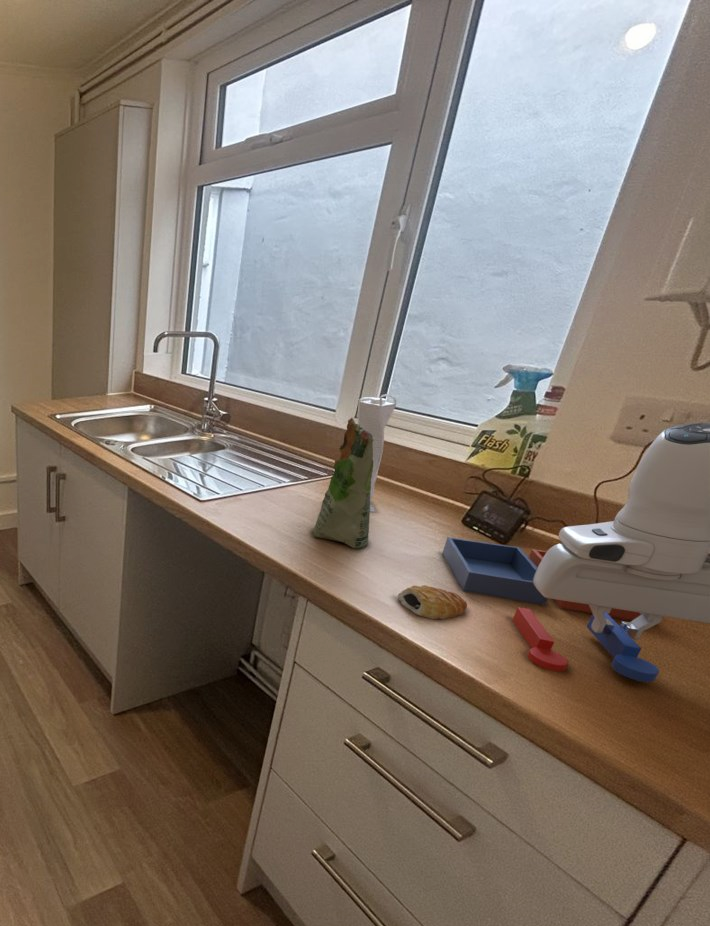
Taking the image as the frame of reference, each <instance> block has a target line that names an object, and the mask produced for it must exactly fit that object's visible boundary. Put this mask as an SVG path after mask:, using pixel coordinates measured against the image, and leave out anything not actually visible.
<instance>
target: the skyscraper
mask: <svg viewBox="0 0 710 926" xmlns="http://www.w3.org/2000/svg"><path fill="white" fill-rule="evenodd" d="M384 397H390V398H392V399H393V402H387V399H386V398H384ZM396 406H397V400H396V398H395V396H394V395H393V394H390V393H384V394H381V395H380V396H379V397H374V396H364V397H360V398H359V399H358V401H357V424H358V425H359V424H360V428H363V430H366V431H368V432H369V433H370V434H371V435H372V436H373V437H372V438H373V440H374V441H373V472H372V478H371V492H370V493H371V494H370V513H376V509H375V508H374V506H373V504H372V501H373V500H372V499H373V496H374V494H375V485H376V482H377V478H378V475H379V473H378V472H379V469H380V466H381V462H382V457H383V454H384V453H383V452H384V447H385V446H384V443H385V428H386V426H387V425H388V422H389V420H390V418H391V416H392V414H393V412H394V410H395V408H396Z"/></svg>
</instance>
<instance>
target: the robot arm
mask: <svg viewBox="0 0 710 926" xmlns="http://www.w3.org/2000/svg"><path fill="white" fill-rule="evenodd" d="M627 488H628V489H627V493H628V494H627V500H626V502H625V504H624V506H623V507H622V508H621V509H620V510H619V511H618V512H617V513H616V515H615V518H614V520H611V521H605V522H597V523H590V524H580V525H569V526H565V527H562V528H561V529H559V533H558V539H559V541H560V542H561V543H557V544H554V545H553V546H551V547H550V548H549V549H548V550H546V551H547V552H546V554H545V555H544V557H543V559H542V561H541V562H540V564H539V566H538V568H537V570H536V573H535V575H534V578H533V583H534V585H535V587H536V588H537V590H538V591H539V592H540V593H541V594H542V595H543V596H544V597H546V598H548V599H549V600H550V599H551V600H553V599H557V600H563V601H570V602H576V603H582V604H589V606H590V608H591V611H592V613H591V614H593V616H594V617H595V618H594V620H593V622H592V625H591V628H592V629H593V631H594V632H596V633H601V634H608V635H609V634H611V630H613V628H614V626H615V625H614V624H613V623H611V621H610V620H609V619H605V616H604V614H603V613H606V614H609V613H610V611H611V609H612V608H614V609H621V610H627V611H633V612H639V613H640V614H642V615H640V616H639V617H637V618H636V619H634V620H630V621H629V622H628V621H621V624H620V627H621V628H622V629H623V630H624V631H625V632H626V633H627V634H628V635H629V636H630V637H631V638H632V639H633V640H640V638H641V636H642V634H643V633H644V631H646V630H648V629H649V630H650V628H652V627H654V626H656V625H658V624H660V623H661V622H662V620H663V617H666V618H672V619H678V620H684V621H692V622H698V623H703V624H710V423H709V422H708V423H703V422H693V423H692V422H691V423H682V424H679V425H678V424H677V425H675V426H671V427H668V428H666V429H664V430H662V431H661V433H660V434H658V435H657V437H656V438H654V440H653V441H652V443H650V445H649V447H648V448H647V449H646V451H645V453H644V455H643V456H642V457H641V459H640V461H639V463H638V465H637V467H636V469H635V472H634V473H633V476H632V477H631V480H630V483H629V485H628V487H627Z"/></svg>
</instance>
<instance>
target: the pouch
mask: <svg viewBox="0 0 710 926" xmlns="http://www.w3.org/2000/svg"><path fill="white" fill-rule="evenodd" d="M372 437H373V436H372V435H371V434H370V433H369V432H368V431H366V430H363V428H360V424H359V425H358V423H357V422H356V421H355V420H354V418H353V417H351V418H349V419H348V420H347V424H346V430H345V432H344V436H343V443H342V444H341V445H339V448H338V449H339V452H340V457H339V458H336V459H335V460H334V463H333V468H334V472H333V474H332V476H331V478H330V481H329V484H328V488H327V490H326V492H325V493H324V498H323V499H322V502H321V506H320V510H319V513H318V515H317V518H316V521H315V525H314V528H313V532H312V534H313V537H314V538H318V539H319V538H320V539H325V540H330V541H334V542H337V543H340V544H343V545H347V546H349V547H350V548H352V549H355V550H359V549H363V548H366V547H367V546H368V545H369V533H370V532H369V531H370V519H371V517H370V514H371V512H370V494H371V493H370V492H371V478H372V472H373V441H374V440H373V438H372Z"/></svg>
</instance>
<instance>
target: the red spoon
mask: <svg viewBox="0 0 710 926" xmlns="http://www.w3.org/2000/svg"><path fill="white" fill-rule="evenodd" d="M512 622H513V623H514V625H515V626H516V628H517V630H518V631H519V632H520V634H521V635H522V636H523V638H524V639H525V641H526V642H527V644H528V645H529V647H530V649H529V651H528V653H527V659H529V661H530V662H532V663H533V664H535V665H537V666H538V667H540V668H543V669H546V670H549V671H554V672H564V671H566V669H567V667H568V665H569V660H568V659H567V658H566V657H565V656H564V655H562V654H561V653H559V652H557V651H554V650H552V648H553V646H554V644H555V641H554V639H553V638H552V637H551V635H550V634H549V632H548V631H547V630H546V628H545V627H544V625H542V623H541V622H540V620H539V619H538V618H537V617H536V615H535V614H534V612H533V611H532V610H531V608H525V607H519V606H517V607H516V610H515V612H514V615H513V618H512Z"/></svg>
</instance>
